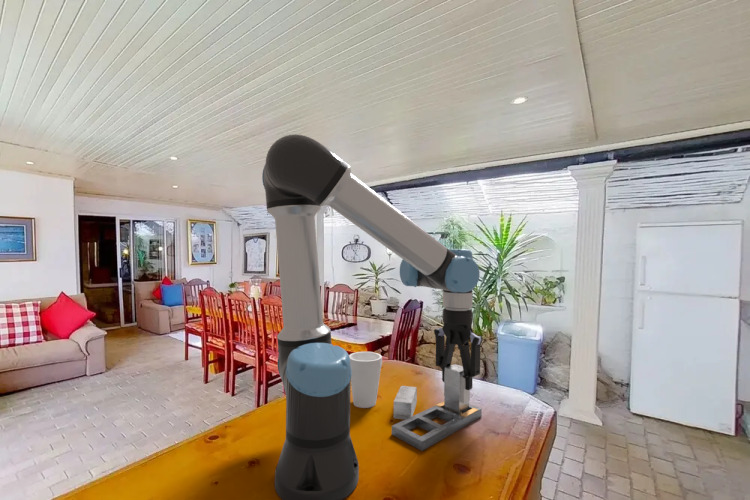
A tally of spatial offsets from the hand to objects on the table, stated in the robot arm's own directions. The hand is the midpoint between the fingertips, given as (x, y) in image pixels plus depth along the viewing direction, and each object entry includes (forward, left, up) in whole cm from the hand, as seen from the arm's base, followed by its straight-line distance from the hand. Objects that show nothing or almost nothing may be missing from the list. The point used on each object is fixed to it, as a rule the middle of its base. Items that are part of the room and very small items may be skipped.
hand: (456, 398), depth 89 cm
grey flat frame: (-7, 0, -4) cm, 9 cm away
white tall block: (0, 0, -3) cm, 3 cm away
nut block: (-7, +11, -5) cm, 14 cm away
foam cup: (-13, +21, -5) cm, 26 cm away
